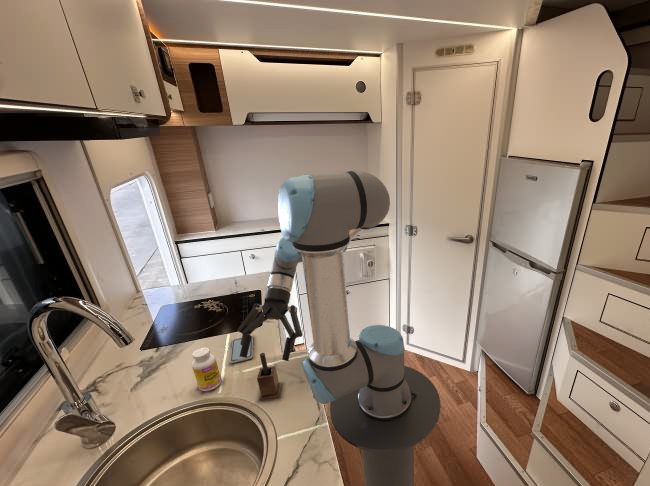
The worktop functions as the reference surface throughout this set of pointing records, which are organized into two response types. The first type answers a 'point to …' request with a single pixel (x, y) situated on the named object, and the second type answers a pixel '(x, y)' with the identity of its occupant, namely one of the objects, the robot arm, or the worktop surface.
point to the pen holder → (268, 384)
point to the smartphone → (237, 349)
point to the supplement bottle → (205, 369)
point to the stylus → (264, 364)
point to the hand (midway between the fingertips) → (263, 358)
